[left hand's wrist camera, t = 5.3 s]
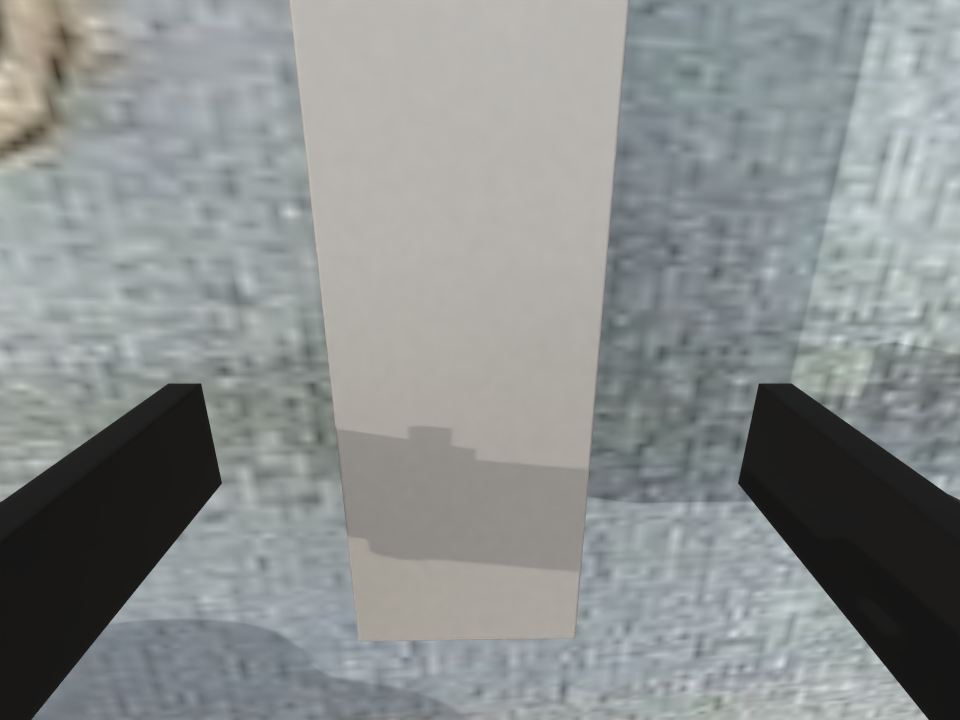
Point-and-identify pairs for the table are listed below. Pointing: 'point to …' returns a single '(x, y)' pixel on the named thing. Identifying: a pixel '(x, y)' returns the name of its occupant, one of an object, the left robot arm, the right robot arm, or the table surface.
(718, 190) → the table surface
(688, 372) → the table surface
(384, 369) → the post
